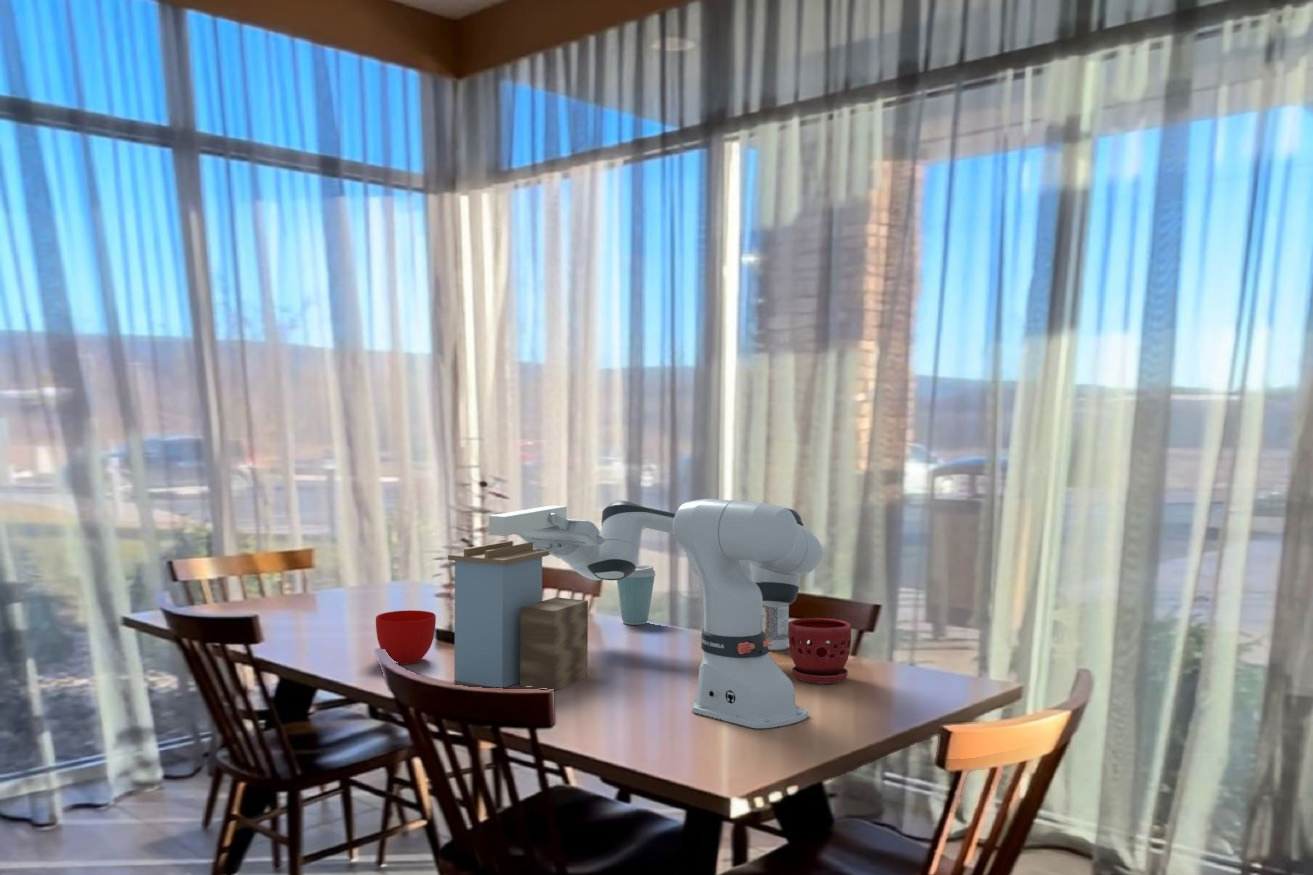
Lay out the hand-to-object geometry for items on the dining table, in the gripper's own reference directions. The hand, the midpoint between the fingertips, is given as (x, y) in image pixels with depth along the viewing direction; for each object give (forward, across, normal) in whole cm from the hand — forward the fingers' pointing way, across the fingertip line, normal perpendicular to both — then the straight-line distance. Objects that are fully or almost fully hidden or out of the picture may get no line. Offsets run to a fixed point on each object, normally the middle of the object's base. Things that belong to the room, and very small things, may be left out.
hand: (540, 515), depth 226 cm
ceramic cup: (-4, +28, -35) cm, 45 cm away
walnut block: (-5, -12, -34) cm, 37 cm away
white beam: (+2, 0, -4) cm, 5 cm away
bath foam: (-49, -41, -9) cm, 65 cm away
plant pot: (-30, -59, -20) cm, 70 cm away
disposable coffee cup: (-57, +2, -5) cm, 57 cm away
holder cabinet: (-2, 0, -36) cm, 36 cm away
